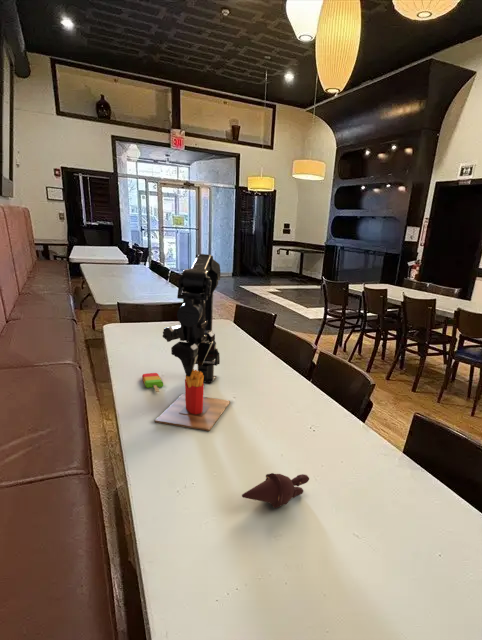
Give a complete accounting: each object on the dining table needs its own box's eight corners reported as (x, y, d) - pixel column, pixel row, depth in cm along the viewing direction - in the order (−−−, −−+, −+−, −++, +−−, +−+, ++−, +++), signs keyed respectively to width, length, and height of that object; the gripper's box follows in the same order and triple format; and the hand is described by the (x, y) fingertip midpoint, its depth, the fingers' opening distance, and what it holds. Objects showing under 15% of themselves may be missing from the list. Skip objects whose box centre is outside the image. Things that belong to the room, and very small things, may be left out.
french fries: (183, 405, 125) (182, 367, 120) (195, 403, 127) (195, 366, 122) (193, 416, 118) (193, 377, 114) (206, 414, 120) (207, 375, 116)
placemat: (182, 395, 133) (182, 393, 133) (230, 402, 131) (230, 400, 131) (154, 422, 115) (154, 420, 115) (209, 431, 113) (209, 429, 112)
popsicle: (157, 377, 146) (157, 372, 146) (166, 393, 134) (166, 388, 133) (141, 378, 144) (141, 373, 143) (149, 395, 131) (148, 389, 131)
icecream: (253, 498, 77) (319, 486, 84) (239, 469, 82) (302, 460, 89) (244, 522, 80) (309, 509, 88) (232, 493, 86) (293, 482, 93)
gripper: (180, 308, 124) (180, 357, 129) (151, 321, 106) (153, 378, 112) (216, 312, 122) (214, 362, 128) (192, 327, 105) (192, 383, 111)
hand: (194, 370), depth 120 cm, fingers open, 9 cm apart
